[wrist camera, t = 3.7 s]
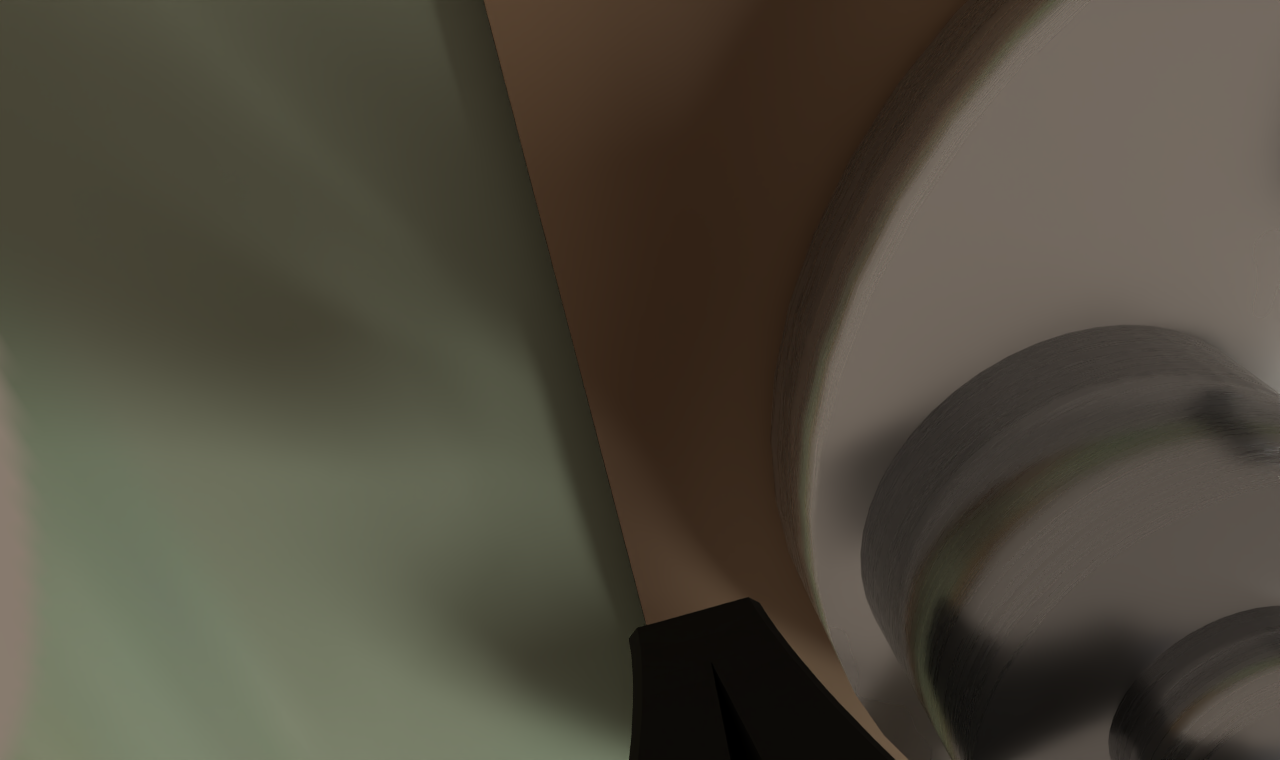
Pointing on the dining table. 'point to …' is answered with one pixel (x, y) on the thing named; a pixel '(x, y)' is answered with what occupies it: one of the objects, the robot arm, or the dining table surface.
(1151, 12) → the turntable
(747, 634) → the robot arm
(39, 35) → the dining table surface
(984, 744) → the cover
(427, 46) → the dining table surface
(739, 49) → the base board
